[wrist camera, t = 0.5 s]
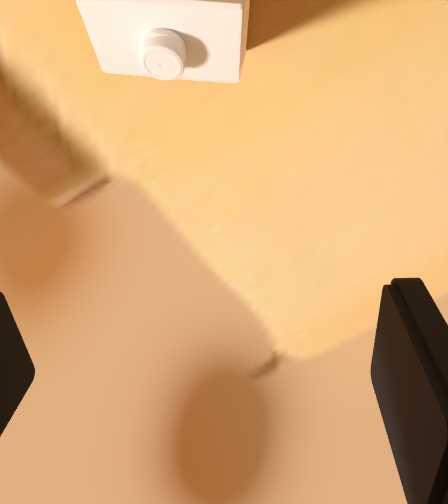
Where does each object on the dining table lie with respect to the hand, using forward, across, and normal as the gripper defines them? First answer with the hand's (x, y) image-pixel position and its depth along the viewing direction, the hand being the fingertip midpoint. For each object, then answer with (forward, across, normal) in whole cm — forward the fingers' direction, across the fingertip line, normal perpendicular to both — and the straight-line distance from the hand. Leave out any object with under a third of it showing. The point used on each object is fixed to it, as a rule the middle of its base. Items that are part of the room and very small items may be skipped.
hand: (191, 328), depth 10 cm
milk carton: (+31, +2, -7) cm, 31 cm away
